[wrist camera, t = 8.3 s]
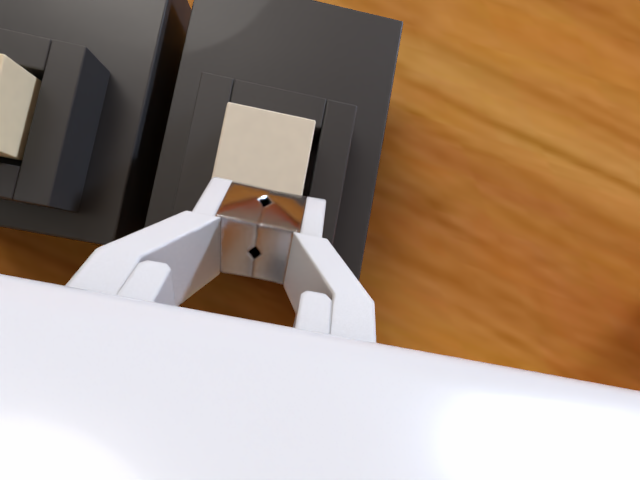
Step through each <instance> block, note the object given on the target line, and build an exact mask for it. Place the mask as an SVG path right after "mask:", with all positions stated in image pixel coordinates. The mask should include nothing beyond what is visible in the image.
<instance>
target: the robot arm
mask: <svg viewBox="0 0 640 480" xmlns="http://www.w3.org/2000/svg"><path fill="white" fill-rule="evenodd" d="M306 198H307V199H306ZM325 208H326V200H325V199H320V198H314V197H308V196H307V197H306V196H301V195H296V194H291V193H285V192H280V191H275V190H271V189H268V188H263V187H259V186H255V185H250V184H246V183H242V182H237V181H232V180H228V179H223V178H219V177H213V178H212V179H211V180H210V182H209V183H208V185H207V187H206V188H205V190H204V192H203V193H202V195H201V197H200V198H199V200H198V202H197V203H196V205H195V207H194V208H193V210H192V212H191V211H184V212H181V213H179V214H177V215H174V216H172V217H169V218H167V219H165V220H162V221H160V222H158V223H155V224H153V225H151V226H148V227H146V228H143V229H141V230H139V231H136V232H134V233H132V234H129V235H127V236H124V237H122V238H120V239H117V240H115V241H113V242H110V243H108V244H106V245H103V246H101V247H98V248H96V249H95V250H94V252H93V253H92V254H91V255H90V256H89V258H88V259H87V260H86V261H85V262H84V263H83V265H82V266H81V267H80V268H79V269H78V271H77V272H76V273H75V274H74V275H73V277H72V278H71V279H70V280H69V281H68V283H67V284H66V285H65V286H64V285H58V284H53V283H47V282H42V281H36V280H31V279H26V278H20V277H15V276H9V275H4V274H0V480H640V391H637V390H631V389H626V388H620V387H615V386H610V385H604V384H599V383H593V382H588V381H582V380H577V379H571V378H566V377H560V376H555V375H550V374H544V373H539V372H533V371H528V370H522V369H517V368H511V367H506V366H500V365H495V364H490V363H484V362H479V361H473V360H468V359H462V358H457V357H451V356H446V355H440V354H435V353H429V352H424V351H418V350H413V349H407V348H402V347H396V346H391V345H385V344H380V343H376V327H375V305H374V301H373V300H372V298H371V297H370V296H369V294H368V293H367V292H366V290H365V289H364V288H363V286H362V285H361V284H360V282H359V281H358V280H357V278H356V277H355V276H354V274H353V273H352V271H351V270H350V269H349V267H348V266H347V265H346V263H345V262H344V261H343V259H342V258H341V257H340V255H339V254H338V253H337V251H336V250H335V249H334V247H333V246H332V245H331V243H330V242H329V240H328V239H325V238H322V234H323V225H324V217H325ZM220 272H221V273H227V274H233V275H239V276H245V277H251V278H256V279H261V280H265V281H270V282H274V283H279V284H284V288H285V291H286V293H287V295H288V297H289V300H290V302H291V304H292V307H293V309H294V311H295V313H296V316H295V320H294V324H293V327H288V326H282V325H277V324H272V323H266V322H261V321H255V320H250V319H244V318H239V317H233V316H228V315H222V314H217V313H211V312H206V311H200V310H195V309H189V308H184V307H179V305H180V304H181V303H183V302H184V301H185V300H186V299H188V298H189V297H190V296H192V295H193V294H194V293H196V292H197V291H198V290H200V289H201V288H202V287H203V286H205V285H206V284H207V283H209V282H210V281H211V280H213V279H214V278H215V277H216V276H218V275H219V274H220Z"/></svg>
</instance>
